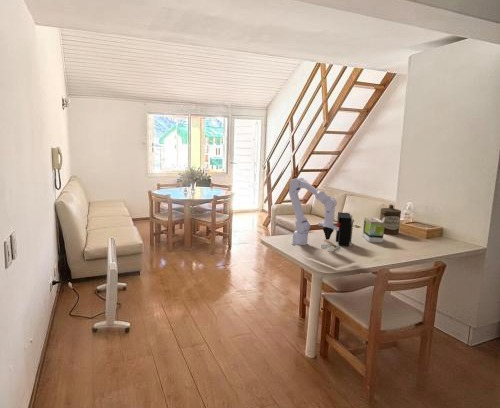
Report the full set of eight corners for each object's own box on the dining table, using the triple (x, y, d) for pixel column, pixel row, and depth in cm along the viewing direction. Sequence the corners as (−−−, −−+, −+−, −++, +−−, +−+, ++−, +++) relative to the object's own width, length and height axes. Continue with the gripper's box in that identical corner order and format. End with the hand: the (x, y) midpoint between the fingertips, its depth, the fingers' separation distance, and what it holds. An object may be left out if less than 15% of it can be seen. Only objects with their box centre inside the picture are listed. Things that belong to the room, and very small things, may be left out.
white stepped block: (326, 250, 215) (327, 245, 214) (329, 249, 216) (329, 245, 216) (331, 252, 212) (331, 247, 211) (333, 251, 213) (334, 246, 213)
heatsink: (317, 249, 219) (317, 245, 219) (331, 246, 227) (331, 242, 226) (330, 254, 211) (331, 250, 210) (344, 251, 218) (345, 246, 218)
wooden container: (381, 234, 264) (385, 206, 261) (375, 229, 279) (378, 202, 275) (401, 235, 264) (405, 207, 260) (394, 230, 279) (397, 203, 275)
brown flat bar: (323, 241, 217) (324, 239, 217) (332, 246, 224) (333, 244, 224) (328, 242, 214) (328, 240, 215) (337, 248, 221) (338, 246, 221)
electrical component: (351, 248, 225) (354, 218, 221) (335, 247, 227) (338, 217, 223) (349, 241, 242) (352, 213, 238) (334, 240, 244) (337, 212, 240)
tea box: (383, 242, 242) (385, 222, 239) (368, 242, 242) (370, 221, 239) (375, 237, 256) (377, 217, 254) (362, 236, 256) (364, 216, 254)
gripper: (316, 216, 217) (314, 237, 220) (334, 221, 206) (332, 243, 208) (323, 215, 222) (322, 235, 224) (342, 219, 210) (340, 241, 213)
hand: (327, 239), depth 216 cm, fingers closed
